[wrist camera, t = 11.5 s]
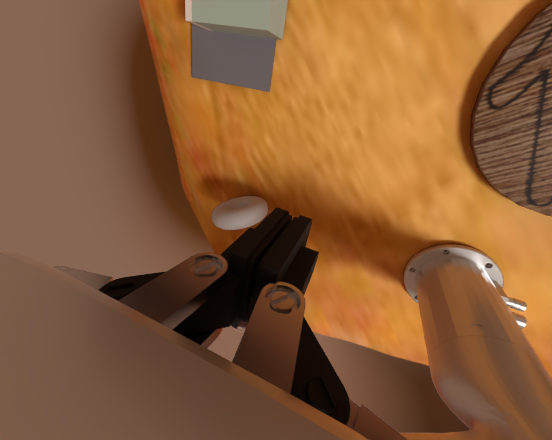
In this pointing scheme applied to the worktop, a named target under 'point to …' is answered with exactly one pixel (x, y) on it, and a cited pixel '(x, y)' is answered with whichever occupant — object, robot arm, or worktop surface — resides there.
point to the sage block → (239, 16)
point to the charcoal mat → (232, 58)
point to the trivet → (518, 118)
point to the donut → (239, 212)
